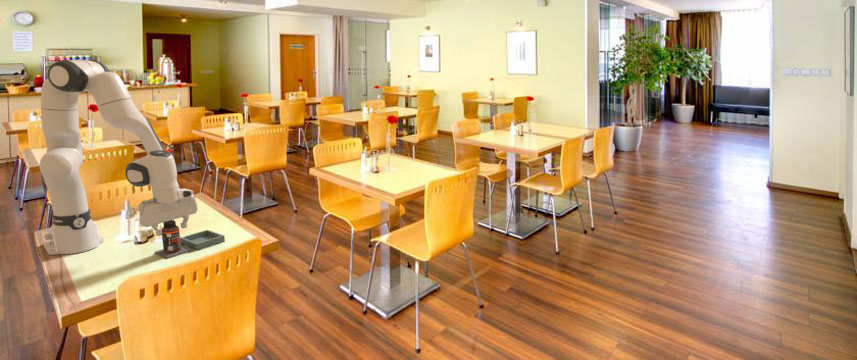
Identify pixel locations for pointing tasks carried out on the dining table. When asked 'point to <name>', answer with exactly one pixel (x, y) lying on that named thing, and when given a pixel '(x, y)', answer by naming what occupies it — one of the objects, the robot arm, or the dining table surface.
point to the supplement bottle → (171, 237)
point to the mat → (169, 255)
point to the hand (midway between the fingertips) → (172, 231)
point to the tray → (202, 239)
